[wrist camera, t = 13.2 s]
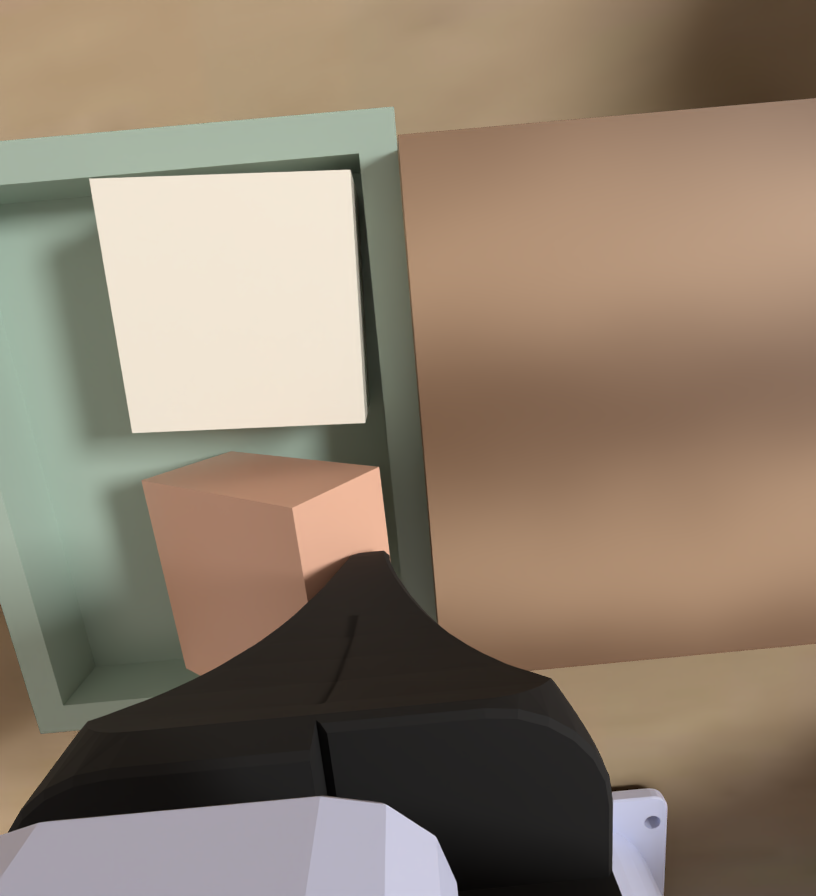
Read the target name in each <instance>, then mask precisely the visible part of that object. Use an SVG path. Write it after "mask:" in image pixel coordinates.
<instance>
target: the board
mask: <svg viewBox="0 0 816 896" xmlns="http://www.w3.org/2000/svg"><path fill="white" fill-rule="evenodd" d="M397 150H398V162H399V175H400V187H401V199H402V211H403V223H404V235H405V247H406V259H407V271H408V283H409V295H410V307H411V319H412V331H413V343H414V355H415V367H416V379H417V391H418V403H419V415H420V427H421V439H422V451H423V463H424V475H425V487H426V499H427V511H428V523H429V535H430V547H431V559H432V571H433V583H434V595H435V607H436V619H437V623H438V624H439V625H440V626H441V627H442V628H443V629H445V630H446V631H447V632H448V633H450V634H451V635H453V636H454V637H456V638H458V639H459V640H461V641H462V642H464V643H465V644H467V645H469V646H470V647H472V648H474V649H476V650H478V651H480V652H482V653H484V654H486V655H488V656H490V657H492V658H495V659H497V660H499V661H501V662H503V663H506V664H508V665H511V666H514V667H517V668H521V669H524V670H527V671H532V670H542V669H553V668H564V667H574V666H585V665H595V664H606V663H616V662H627V661H638V660H648V659H659V658H669V657H680V656H691V655H701V654H712V653H722V652H733V651H744V650H754V649H765V648H775V647H786V646H797V645H807V644H816V98H811V99H800V100H789V101H777V102H766V103H754V104H743V105H732V106H720V107H709V108H698V109H686V110H675V111H664V112H652V113H641V114H629V115H618V116H607V117H595V118H584V119H573V120H561V121H550V122H539V123H527V124H516V125H505V126H493V127H482V128H470V129H459V130H448V131H436V132H425V133H414V134H402V135H398V149H397Z"/></svg>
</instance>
